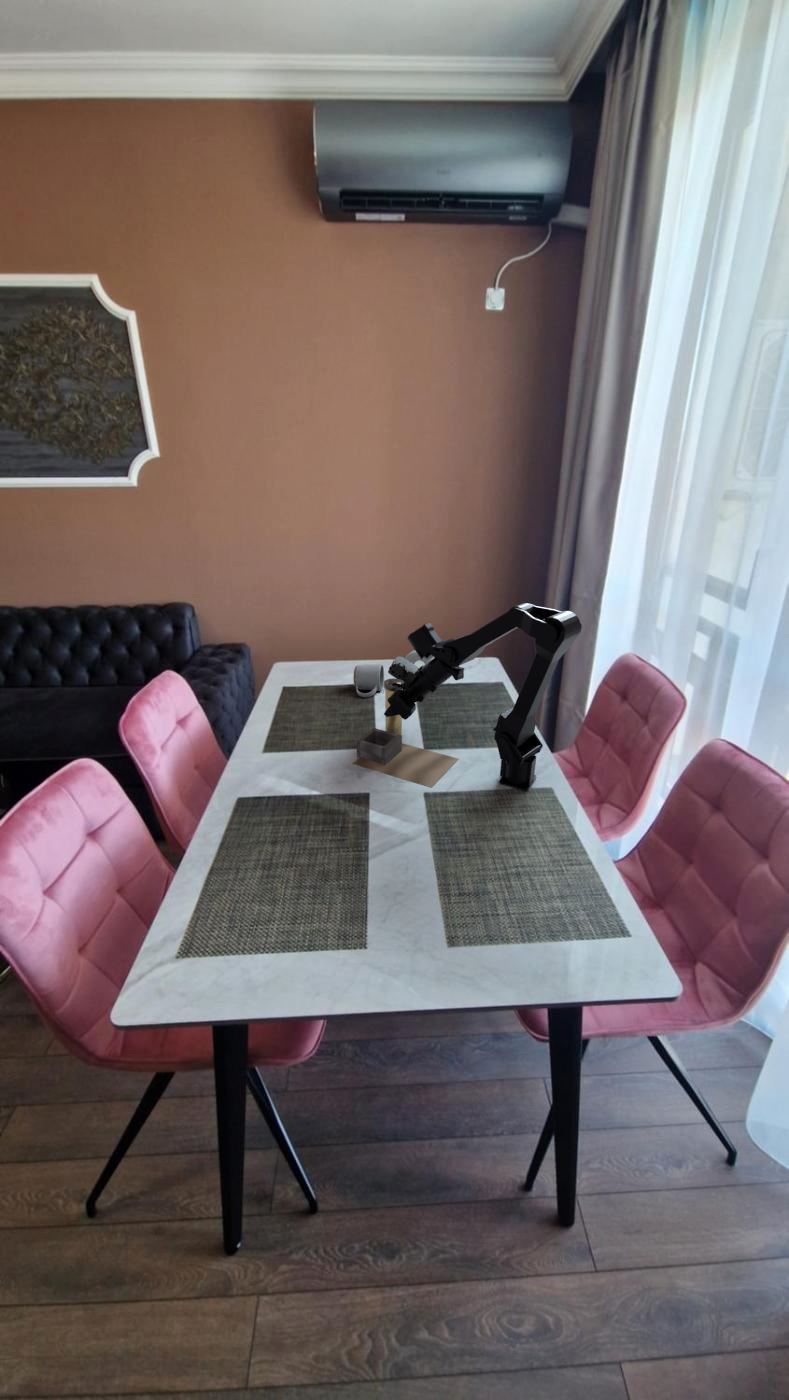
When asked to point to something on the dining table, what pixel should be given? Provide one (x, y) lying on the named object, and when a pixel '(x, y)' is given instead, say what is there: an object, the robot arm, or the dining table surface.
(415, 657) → the donut
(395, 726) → the brass peg
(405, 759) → the board with square socket
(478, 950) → the dining table surface
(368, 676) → the ceramic mug
